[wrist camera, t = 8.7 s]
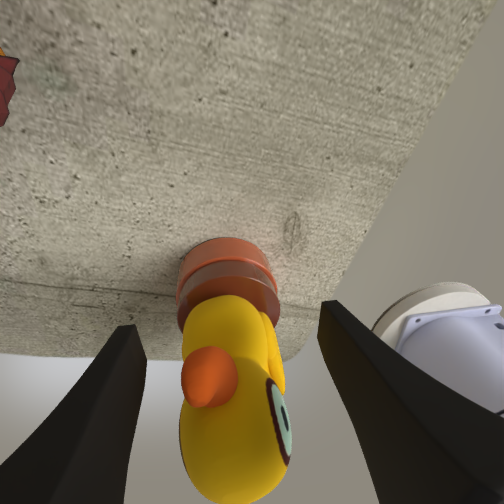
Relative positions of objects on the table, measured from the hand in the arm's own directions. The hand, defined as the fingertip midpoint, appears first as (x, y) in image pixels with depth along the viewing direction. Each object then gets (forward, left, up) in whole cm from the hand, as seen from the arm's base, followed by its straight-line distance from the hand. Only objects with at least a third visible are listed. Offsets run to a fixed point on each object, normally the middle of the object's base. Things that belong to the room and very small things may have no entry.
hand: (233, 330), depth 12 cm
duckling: (0, +5, -6) cm, 8 cm away
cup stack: (0, +5, -10) cm, 12 cm away
